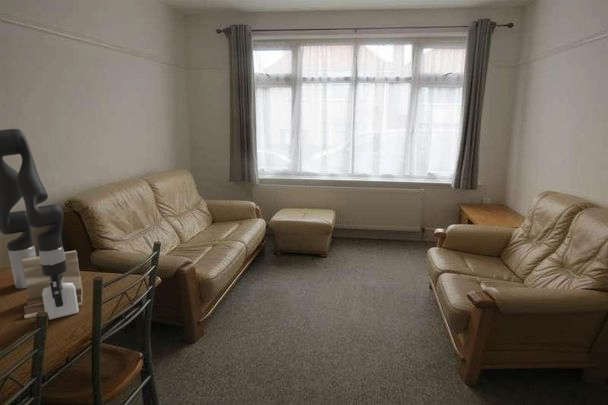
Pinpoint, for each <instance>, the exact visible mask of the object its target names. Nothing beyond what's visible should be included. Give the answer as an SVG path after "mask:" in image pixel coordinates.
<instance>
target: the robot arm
mask: <svg viewBox="0 0 608 405" xmlns="http://www.w3.org/2000/svg"><path fill="white" fill-rule="evenodd" d="M13 155H20V157H21V165H20V169H19V170H18V171H17V170H15V168H13V167H11V166H10V165H9V164H8V163H7V162H6V161H5V160H4V159H3V158H4V157H6V156H9V157H10V156H13ZM34 160H35V159H34V157H33V154H32V151H31V148H30V145H29V142H28V139H27V137H26V135H25V133H24V132H23V131H22V129H19V128H6V129H0V233H1V234H2V235H14V234H18V233H19V234H20V235H19V236H18V237H16V238H15V239H12V240H10V241H8V242H7V244H6V247H7V248H6V249H7V253H8V257H9V262H10V266H11V267H10V268H11V271H12V275H13V276H12V277H13V281H14V287H15V288H16V289H27V285H26V280H25V275H24V270H23V265H22V259H25V258H32V257H37V253H36V247H35V242H34V236H33V231H32V228H36V229H39V228H42V227H47V226H49V227H48V228H47V230H45V231H43V232H40V233H39V234H37V237H36V240H37V245H38V246H37V247H38V253H39V254H38V256H39V257H40V263H41V268H42V274H43V275H44V276H51V277H50V280H49V282H50V285H51V291H52V298H54V299H55V305H56V307H61V306H63V300H62V290H63V284H62V283H64V279H63V275H62V273H64V272H66V271H67V264H66V258H65V252H66V251H65V249H64V245H63V241H62V229H63V228H62V227H63V222H64V210H63V209H62V207H60V205H58V204H48V205H41V206H37V205H40V204H42V203H44V202H46V201H47V200H48V198H49V194H48V192H47V190H46V188H45V187H44V184H43V183H42V181H41V178H40V175H39V174H38V171H37V170H38V169H37V167H36V163H35V161H34ZM22 198H23V201H24V206H25V210H17V211H11V210H12V209H13V208H14V206H15V205H17V203H19V202H20V200H21V199H22ZM56 291H59V294H55V292H56Z"/></svg>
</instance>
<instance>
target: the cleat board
mask: <svg viewBox="0 0 608 405" xmlns="http://www.w3.org/2000/svg"><path fill="white" fill-rule="evenodd" d="M64 252H65V258H66V264H67V271H66V272H64V273H62V275H63V279H64V283H73V285H74V286H75V289H76V296H77V303H78V308H80V307H82V306H83V286H82V278H81V274H80V268H79V267H80V266H79V259H78V252H77V250H71V251H64ZM22 265H23V270H24V275H25V280H26V285H27V288H26V290H27V294H28V295H27V296H28V298H27V299H26V304H27V305H26V306H23V309H24V310H23V311H24V319H29V318H35V317H37V316H36V314H37V313H38V312H40V311H45V309H44V303H43V297H42V293H43V289H44V288H46V287H49V286H51V285H50V282H49V280H50V277H51V276H44V275H43V274H42V268H41V263H40V257H39V255H38V256H36V257H32V258H25V259H22Z"/></svg>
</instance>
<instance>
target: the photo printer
mask: <svg viewBox="0 0 608 405" xmlns="http://www.w3.org/2000/svg"><path fill="white" fill-rule="evenodd" d="M62 284H63V290H62V300H63V306H61V307H56V305H55V299H54V298H52V291H51V286H49V287H46V288H44V289H43V293H42V297H43V303H44V309H45V312H47V313H48V316H49V320H53V319H58V318H62V317H66V316H70V315H74V314H77V313H79V311H80V310H79V307H78V303H77V296H76V289H75V286H74V285H73V283H62ZM55 294H59V291H56V292H55Z"/></svg>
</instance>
